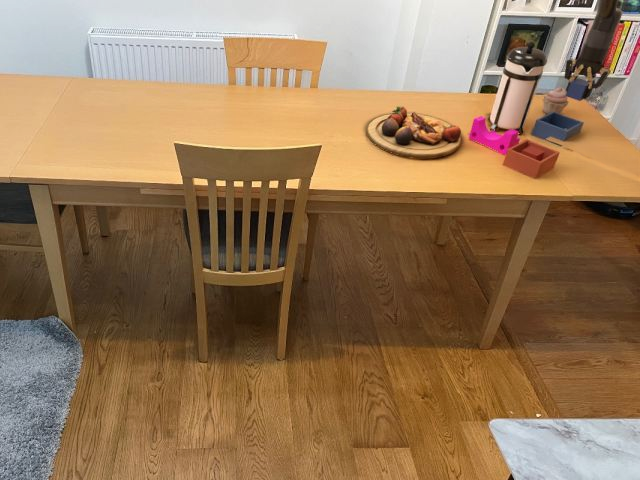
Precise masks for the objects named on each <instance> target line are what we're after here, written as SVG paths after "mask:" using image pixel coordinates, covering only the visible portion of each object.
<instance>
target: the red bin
mask: <svg viewBox="0 0 640 480" xmlns="http://www.w3.org/2000/svg"><path fill="white" fill-rule="evenodd" d="M529 146H533V147H535V148H538V149H540V150H543V151H545V152H544V155H543V158H542V160H541V161H538V160H535V159H533V158H531V157H528V156H526V155H523V154H521V153H522V150H524V149H525V148H527V147H529ZM560 154H561V153H560V151H558V150H555V149H553V148H550V147H549V146H545V145H542V144H540V143H538V142H535V141H534V140H533V141H532V140H529V139H527V138H526V139H524V140H522V141H519V144H517V145H515V146H513V147H511V148H509V149H508V150H507V153H506V156H505V155H504V159H503V162H502V166H504V165H505V167H507V168H509V169H511V170H514V171H515V172H518V173H520V174H522V175H525V176H528V177H530V178H532V179H535V180H536V179H538V178H540V177H541V176H542V175H545V174H546V173H548V172H549V171H551V170H552V169H554V168H555V166H556V163H557V161H558V158H559V155H560Z"/></svg>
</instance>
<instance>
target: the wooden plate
mask: <svg viewBox="0 0 640 480" xmlns="http://www.w3.org/2000/svg"><path fill="white" fill-rule="evenodd" d="M391 112H392V113H390V114H385V115H381V116H378V117H377V118H374V119H373V120H372V121H371V122H370V123H369V124H368V126H367V129H366V135H367V137H368V139H369V141H370V142H371V143H372V144H374V145H375V144H376V145H377V146H376V145H375V146H376V147H378V146H379V147H380V148H379V147H378V148H379V149H381V148H382V149H381V150H383V149H384V150H383V151H385V150H387V151H389V152H388V153H390V152H392V153H391V154H393V153H395V154H394V155H396V154H398V155H397V156H399V155H402V156H401V157H404V156H407V157H406V158H409V157H413V158H412V159H420V158H425V159H436V158H437V157H438V158H442V156H443V157H446V156H448V155H451V154H453V153H455V152H456V151H458V149H459V147H460V146H461V143H462V138H461V137H462V136H461V134H462V130H461V128H460V126H458V125H453V126H452V125H451V124H450V123H448V122H446V121H444V120H442V119H440V118H436V117H432V116H429V115H425V114H421V113H420V114H419V113H416V112H415V111H413V112H411V113H409V112H408V110H407V108H406V107H404V106H396V108H395V109H394V110H392V111H391ZM387 151H386V152H387Z"/></svg>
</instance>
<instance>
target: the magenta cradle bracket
mask: <svg viewBox="0 0 640 480" xmlns="http://www.w3.org/2000/svg"><path fill="white" fill-rule="evenodd" d="M486 119H487V118H486V117H484V116H482V115H480V116H477V117H474V118H473V121H472V124H471V128H470V132H469V135H468V139H469V138H470V139H472V140H474V141H477V142H479V143H481V144H484V145H486V146H488V147H490V148H492V149H494V150H496V151H498V152H500V153H502V154H504V155H503V156H505V155H506V153H507V150H508V149H509V148H511V147H513V146H515V145H517V144H519V143H520V142H521V138H520V137H518V136H519V135H518V133H519V132H517V131H516V130H515V129H508V130H505V132H504V133H503V134H499V133H497V132H496V130H495V131H494V130H492V131H491V130H489V129H488V128H487V124H486V121H487V120H486ZM472 140H471V141H472ZM474 141H473V142H474ZM494 150H493V151H494ZM496 151H495V152H496ZM498 152H497V153H498ZM500 153H499V154H500ZM502 154H501V155H502Z"/></svg>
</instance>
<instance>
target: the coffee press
mask: <svg viewBox="0 0 640 480" xmlns="http://www.w3.org/2000/svg"><path fill="white" fill-rule="evenodd" d="M526 45H527V46H518V47H515V48H513V49H511V50H510V51H509V52H508V53H507V54H506V62H505V64H504V66H503V70H502V76H501V78H500V79H501V80H500V82H499V85H498V89H497V92H496V95H495V99H494V102H493V105H492V109H491V112H490V116H488V120H489V119H490V122H491V124H492V125H491V126H490V128H489V131H491V130H494V129H495V131H497V129H498V128H500V129H503V130H511V129H513V130H515V131H517V132H519V133H521V134H520V135H521V136H522V135H523V134H524V133H525V130H524V126H525V123H526V121H527V118H528V116H529V111H530V109H531V106H532V103H533V101H534V98H535V94H536V91H537V88H538V86H539V83H540V80H541V79H542V76H543V73H544V69H545V66H546V64H547V63H548V59H547V54H546V53H545V52H543V50H541V49H539V48H535V47H536V46H535V45H536V44H535V42H534V41H529V42H528V43H527V44H526ZM520 135H519V136H520Z"/></svg>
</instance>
